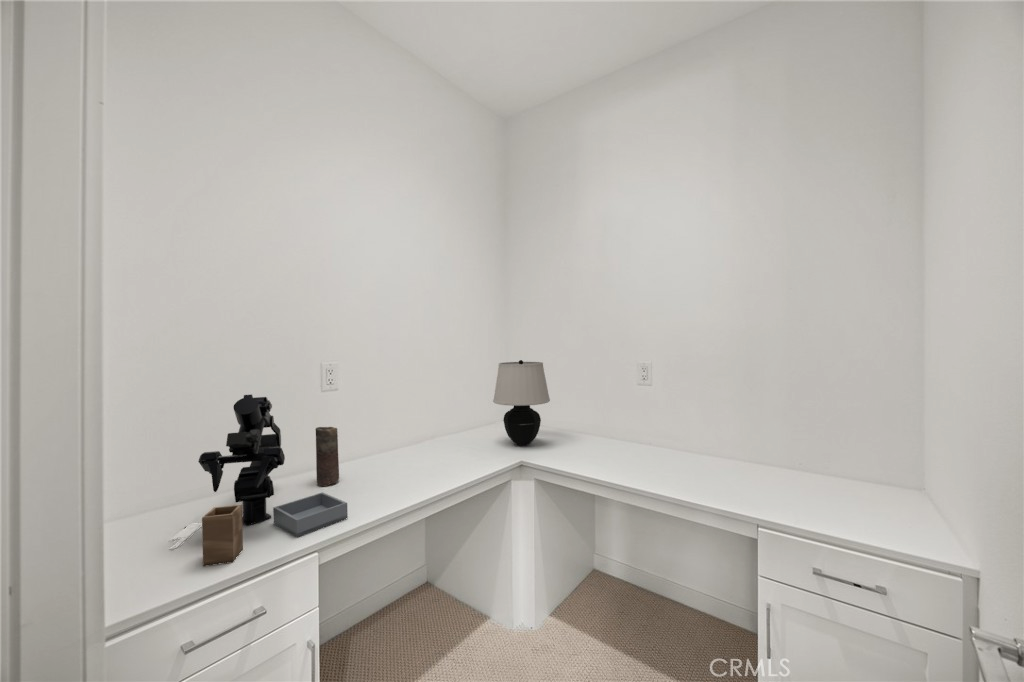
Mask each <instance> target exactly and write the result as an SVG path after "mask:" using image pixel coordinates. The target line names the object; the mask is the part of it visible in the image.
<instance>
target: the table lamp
mask: <svg viewBox="0 0 1024 682" xmlns="http://www.w3.org/2000/svg"><path fill="white" fill-rule="evenodd" d="M544 368H545V367H544V362H543V361H523V360H521V359H520V360H518V361H507V362H499V363H498V368H497V377H496V383H495V389H494V396H493V399H492V402H493V403H494V404H496V405H501V406H510V407H511V406H512V407H513V408H510V409H509V410H507V412H505V413H504V416H503V419H502V421H503V425H504V428H505V429H504V430H505V431H506V434H507V436H508V437H509V439H510V440H511V441H512V442H513V443H514V444H516V445H517V446H528V445H529V444H531V443H532V442H533V441H534V440H535V439H536V437H537V436H538V434H539V431H540V427H541V423H542V419H541V415H540V414H539V412H538V411H536V410H534V408H532V407H531V406H538V405H545V404H547V403H549V402H550V401H551V398H550V395H549V390H548V384H547V380H546V375H545V369H544Z"/></svg>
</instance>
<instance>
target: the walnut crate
mask: <svg viewBox="0 0 1024 682" xmlns="http://www.w3.org/2000/svg"><path fill="white" fill-rule="evenodd" d="M242 517H243V504H236V505H235V504H234V505H224V506H216V507H213V508H211V510H209V511H208V512H207V513H206V514H205V515H204V516H202V517H201V523H202V527H201V530H202V535H201V536H202V538H201V539H202V567H207V566H206V565H209V566H214V565H213V564H217V565H220V564H219V563H224V564H228V563H227V562H231V563H234V562H235V561H234V560H236V559H237V558H238V557H239V555H240V554H241V553H242V552H243V550H244V547H243V546H244V540H243V539H244V534H243V523H242ZM241 551H242V552H241ZM240 552H241V553H240ZM239 553H240V554H239ZM237 556H238V557H237ZM236 557H237V558H236ZM233 561H234V562H233Z"/></svg>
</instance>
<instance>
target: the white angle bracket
mask: <svg viewBox="0 0 1024 682" xmlns="http://www.w3.org/2000/svg"><path fill="white" fill-rule="evenodd" d="M190 524H191V525H190V526H187V525H186V526H187V527H186V528H185V529H183V528H182V529H183V530H182V529H181V530H182V531H181V530H180V531H181V532H180V531H179V532H180V533H179V534H177V533H176V534H177V535H176V534H175V535H176V536H175V535H174V536H175V537H174V536H173V537H174V538H173V537H172V538H173V539H171V538H170V539H171V540H173V541H171V540H170V539H169V540H170V542H174V541H175V540H176V541H177V542H176V541H175V542H176V543H175V544H174V545H172V546H171V547H169V548H168V550H171V551H175V550H174V549H177V548H178V547H179V546H180V545H181V544H182V543H183V542H184V543H186V542H187V541H188V540H189V539H190V538H191V537H192V536H193V535H194V534H195V533H196V532H197V531H198V530H199V529H200V528H201V527H200V526H201V525H202V522H199V521H198V522H195V523H190ZM199 527H200V528H199ZM198 528H199V529H198ZM197 529H198V530H197ZM196 530H197V531H196ZM195 531H196V532H195ZM194 532H195V533H194ZM193 533H194V534H193ZM192 534H193V535H192ZM191 535H192V536H191ZM190 536H191V537H190ZM189 537H190V538H189ZM178 538H181V539H178ZM187 539H188V540H187ZM184 543H183V544H184ZM183 544H182V545H183ZM182 545H181V546H182ZM181 546H180V547H181ZM180 547H179V548H180ZM179 548H178V549H179ZM178 549H177V550H178ZM168 550H167V551H168Z"/></svg>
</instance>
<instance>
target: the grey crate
mask: <svg viewBox="0 0 1024 682" xmlns="http://www.w3.org/2000/svg"><path fill="white" fill-rule="evenodd" d="M272 510H273V511H272V512H273V524H274V525H275V526H277V527H278V528H280V529H282V530H283V531H285V532H286V533H289V534H290V535H292V536H294V537H296V538H298V539H299V538H300V537H302V536H305V535H309V534H311V533H314V532H316V531H318V529H319V530H321V528H322V529H324V528H327V527H329V526H331V524H332V525H335V524H337V523H340V522H342V521H341V520H343V521H345V520H347V519H346V518H349V516H348V515H349V513H348V502H346V501H344V500H341V499H339V498H337V497H334V496H332V495H331V494H327V493H325V492H324V491H323V492H319V493H316V494H313V495H309V496H306V497H304V498H298V499H296V500H293V501H290V502H287V503H283V504H279V505H276V506H274V507H273V508H272ZM344 519H345V520H344ZM339 521H340V522H339ZM336 522H337V523H336ZM334 523H335V524H334ZM323 527H324V528H323ZM313 531H314V532H313Z"/></svg>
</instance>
